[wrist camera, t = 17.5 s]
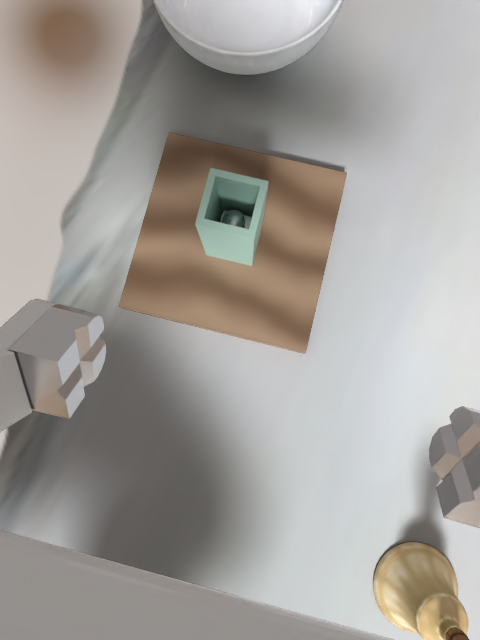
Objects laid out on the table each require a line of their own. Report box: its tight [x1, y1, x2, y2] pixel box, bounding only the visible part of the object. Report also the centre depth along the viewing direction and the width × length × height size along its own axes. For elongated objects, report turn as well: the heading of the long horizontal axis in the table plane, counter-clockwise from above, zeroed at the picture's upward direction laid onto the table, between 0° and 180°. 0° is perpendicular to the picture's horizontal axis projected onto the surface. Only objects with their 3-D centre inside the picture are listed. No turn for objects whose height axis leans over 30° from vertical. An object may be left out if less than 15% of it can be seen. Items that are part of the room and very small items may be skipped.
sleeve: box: [195, 168, 269, 266], centre depth 35 cm, size 5×5×9 cm
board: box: [119, 132, 347, 353], centre depth 41 cm, size 20×20×2 cm
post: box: [220, 210, 252, 229], centre depth 37 cm, size 3×3×5 cm
